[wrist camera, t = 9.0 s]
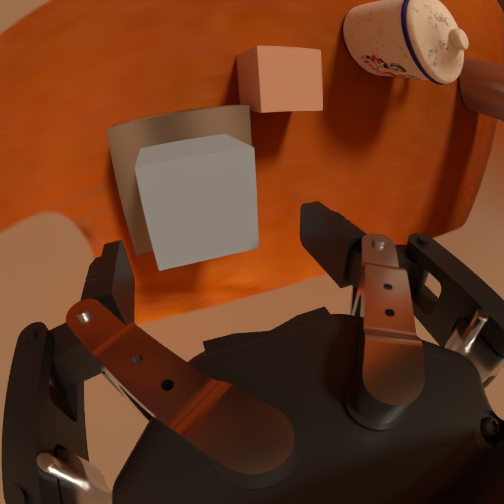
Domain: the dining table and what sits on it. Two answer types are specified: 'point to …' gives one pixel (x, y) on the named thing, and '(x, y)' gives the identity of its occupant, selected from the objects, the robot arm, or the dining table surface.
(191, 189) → the slate block
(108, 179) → the dining table surface
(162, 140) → the walnut plinth
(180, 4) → the dining table surface
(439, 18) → the teacup with lid
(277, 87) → the terracotta block
